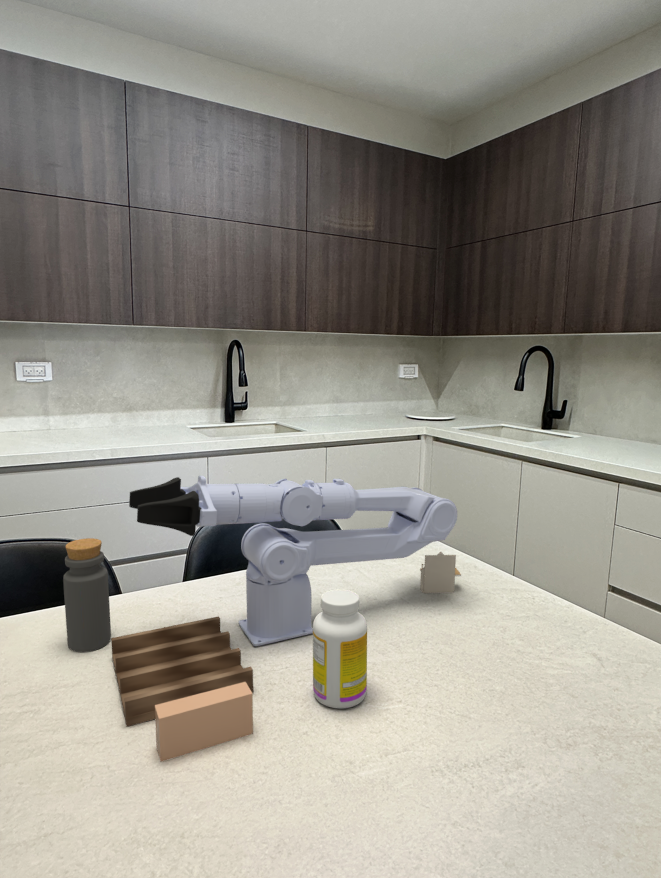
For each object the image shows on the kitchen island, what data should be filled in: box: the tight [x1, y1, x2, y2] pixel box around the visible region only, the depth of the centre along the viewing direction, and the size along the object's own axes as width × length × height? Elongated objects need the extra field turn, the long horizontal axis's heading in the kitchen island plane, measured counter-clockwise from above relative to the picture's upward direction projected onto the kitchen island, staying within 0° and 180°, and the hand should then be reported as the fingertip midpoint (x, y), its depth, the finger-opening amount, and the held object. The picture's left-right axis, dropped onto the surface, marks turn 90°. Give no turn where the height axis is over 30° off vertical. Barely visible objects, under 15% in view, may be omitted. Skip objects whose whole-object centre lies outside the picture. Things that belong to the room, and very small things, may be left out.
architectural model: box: [419, 551, 462, 594], centre depth 101 cm, size 3×7×7 cm, turn 94°
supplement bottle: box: [312, 588, 368, 709], centre depth 69 cm, size 7×7×13 cm
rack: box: [110, 615, 254, 727], centre depth 73 cm, size 15×16×3 cm
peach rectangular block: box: [154, 682, 254, 763], centre depth 61 cm, size 10×2×5 cm, turn 116°
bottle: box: [62, 537, 112, 653], centre depth 80 cm, size 6×6×15 cm
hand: (133, 506), depth 74 cm, fingers open, 7 cm apart
